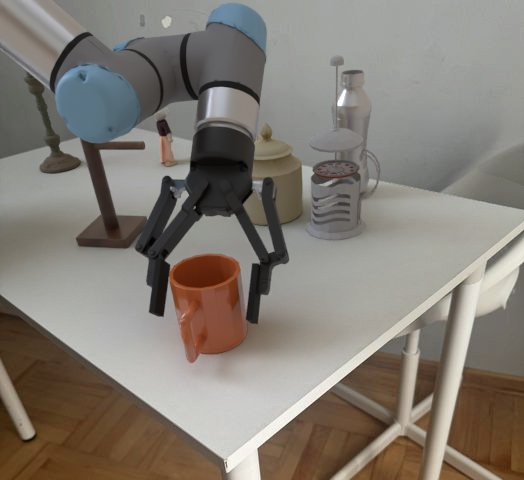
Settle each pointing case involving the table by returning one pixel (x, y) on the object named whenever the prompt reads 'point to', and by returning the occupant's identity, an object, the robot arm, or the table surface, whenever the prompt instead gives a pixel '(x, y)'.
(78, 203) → the table surface
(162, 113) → the grandmother figurine
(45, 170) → the candlestick holder
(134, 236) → the mug stand
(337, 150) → the french press
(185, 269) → the mug
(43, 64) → the robot arm
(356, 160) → the silver metal bottle
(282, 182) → the sugar bowl
